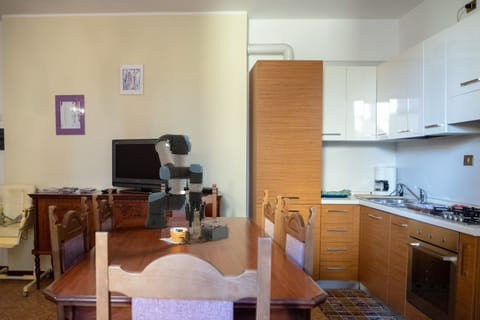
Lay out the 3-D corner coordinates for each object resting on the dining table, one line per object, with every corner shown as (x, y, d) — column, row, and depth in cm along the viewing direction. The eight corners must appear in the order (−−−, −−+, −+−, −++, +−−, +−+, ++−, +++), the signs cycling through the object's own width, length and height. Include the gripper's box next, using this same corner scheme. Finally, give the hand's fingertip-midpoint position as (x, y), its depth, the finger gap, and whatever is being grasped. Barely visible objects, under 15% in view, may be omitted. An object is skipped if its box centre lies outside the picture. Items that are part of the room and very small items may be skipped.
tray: (182, 242, 178) (182, 237, 178) (196, 239, 184) (196, 235, 184) (191, 245, 171) (191, 241, 171) (206, 243, 177) (206, 238, 177)
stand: (179, 237, 187) (180, 232, 187) (191, 236, 192) (191, 230, 192) (187, 240, 181) (187, 235, 181) (198, 238, 186) (198, 233, 186)
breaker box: (200, 237, 189) (200, 221, 189) (216, 235, 196) (216, 219, 197) (212, 242, 180) (212, 224, 180) (228, 239, 188) (228, 222, 188)
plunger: (210, 229, 188) (210, 225, 188) (215, 228, 191) (215, 224, 191) (214, 230, 185) (214, 226, 185) (219, 229, 188) (219, 225, 188)
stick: (190, 239, 177) (191, 211, 177) (195, 238, 180) (196, 210, 180) (193, 240, 175) (194, 211, 175) (198, 239, 177) (199, 211, 177)
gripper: (186, 192, 169) (185, 235, 169) (211, 190, 180) (210, 231, 180) (179, 191, 175) (178, 232, 175) (203, 189, 186) (202, 229, 186)
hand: (194, 232), depth 177 cm, fingers closed on stick, 3 cm apart
